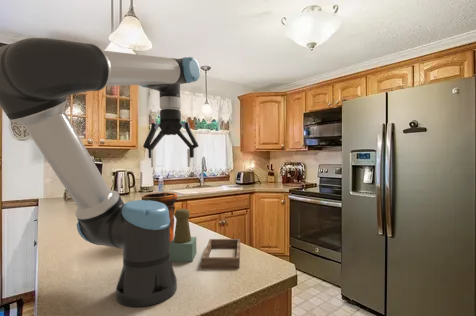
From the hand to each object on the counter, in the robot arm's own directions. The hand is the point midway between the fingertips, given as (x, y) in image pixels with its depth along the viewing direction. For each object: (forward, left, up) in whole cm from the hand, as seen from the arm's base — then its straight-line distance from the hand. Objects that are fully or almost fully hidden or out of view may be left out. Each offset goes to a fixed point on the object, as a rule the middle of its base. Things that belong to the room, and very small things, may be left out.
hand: (171, 167), depth 100 cm
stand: (-6, -5, -32) cm, 33 cm away
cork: (-6, -5, -26) cm, 27 cm away
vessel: (+12, +9, -32) cm, 35 cm away
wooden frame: (-5, -19, -32) cm, 37 cm away
